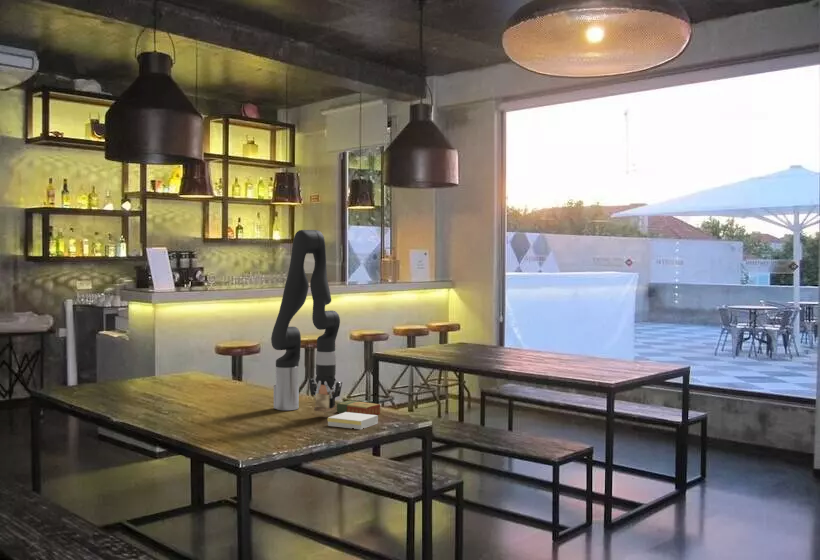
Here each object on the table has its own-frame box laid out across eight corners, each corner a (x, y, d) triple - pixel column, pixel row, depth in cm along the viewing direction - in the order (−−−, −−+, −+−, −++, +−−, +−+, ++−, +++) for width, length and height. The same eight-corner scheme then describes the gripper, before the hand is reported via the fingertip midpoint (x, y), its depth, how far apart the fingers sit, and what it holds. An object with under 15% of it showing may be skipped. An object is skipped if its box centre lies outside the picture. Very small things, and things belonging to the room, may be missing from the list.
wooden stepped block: (314, 410, 294) (314, 394, 294) (324, 407, 300) (324, 391, 300) (325, 411, 292) (326, 395, 291) (335, 408, 298) (336, 392, 298)
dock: (327, 425, 281) (327, 417, 281) (345, 419, 291) (345, 411, 291) (360, 429, 274) (360, 421, 274) (377, 423, 285) (377, 415, 285)
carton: (366, 418, 297) (366, 407, 297) (336, 413, 307) (336, 402, 307) (380, 414, 304) (380, 403, 303) (350, 409, 313) (350, 399, 313)
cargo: (319, 393, 295) (319, 384, 295) (324, 392, 298) (324, 383, 298) (327, 394, 294) (327, 385, 293) (331, 393, 297) (332, 384, 297)
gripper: (304, 362, 295) (304, 406, 296) (336, 365, 289) (335, 410, 289) (315, 360, 302) (315, 403, 303) (347, 363, 295) (346, 407, 296)
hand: (325, 406), depth 296 cm, fingers closed on wooden stepped block, 5 cm apart
